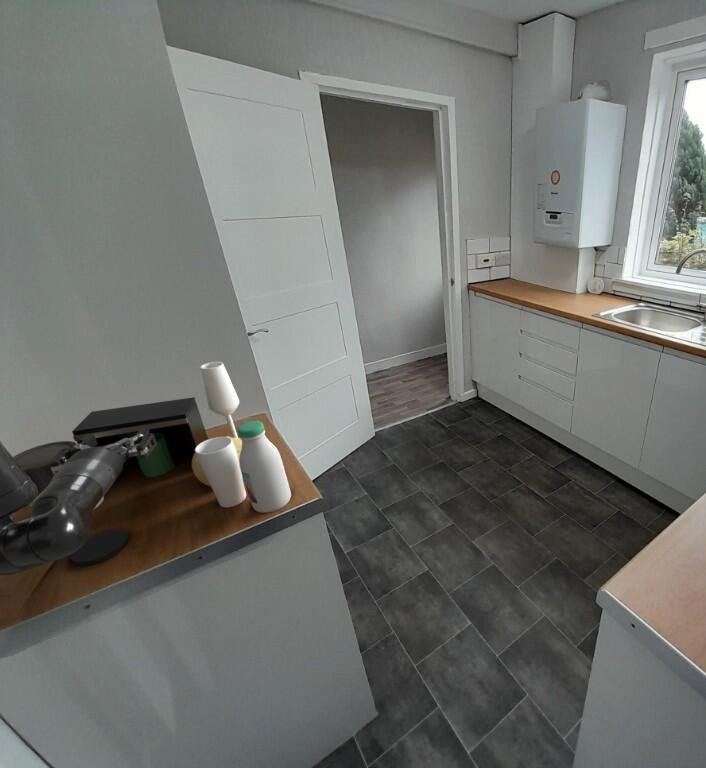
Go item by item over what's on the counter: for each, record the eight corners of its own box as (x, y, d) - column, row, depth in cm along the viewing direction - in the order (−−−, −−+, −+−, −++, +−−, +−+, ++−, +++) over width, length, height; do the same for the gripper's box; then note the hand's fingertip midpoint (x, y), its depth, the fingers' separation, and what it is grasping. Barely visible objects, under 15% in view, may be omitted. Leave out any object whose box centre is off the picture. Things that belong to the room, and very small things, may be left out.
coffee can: (44, 533, 82) (9, 477, 76) (33, 512, 87) (-1, 457, 81) (111, 504, 90) (83, 451, 84) (97, 486, 95) (70, 435, 89)
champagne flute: (256, 443, 114) (233, 363, 103) (231, 455, 108) (203, 372, 98) (243, 436, 117) (219, 358, 106) (218, 447, 111) (190, 366, 101)
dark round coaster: (64, 571, 74) (61, 567, 73) (83, 541, 80) (81, 537, 80) (120, 557, 77) (118, 553, 77) (134, 529, 84) (133, 525, 83)
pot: (140, 480, 98) (126, 448, 94) (148, 466, 103) (135, 436, 99) (172, 474, 100) (160, 443, 97) (178, 460, 105) (167, 430, 102)
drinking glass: (208, 506, 90) (186, 449, 84) (237, 487, 96) (218, 433, 90) (229, 514, 88) (208, 457, 82) (257, 495, 94) (240, 440, 87)
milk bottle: (296, 488, 96) (276, 415, 87) (285, 511, 89) (263, 434, 80) (260, 492, 95) (237, 417, 86) (247, 515, 88) (220, 437, 79)
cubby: (99, 492, 94) (70, 432, 87) (116, 468, 102) (91, 411, 96) (204, 471, 102) (184, 415, 95) (211, 450, 110) (194, 397, 104)
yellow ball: (216, 500, 92) (202, 461, 88) (189, 482, 98) (174, 444, 93) (266, 473, 101) (255, 436, 97) (238, 458, 107) (227, 423, 102)
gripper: (129, 450, 74) (156, 412, 87) (21, 470, 68) (67, 426, 82) (144, 484, 77) (167, 442, 90) (41, 505, 71) (82, 457, 85)
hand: (119, 435), depth 86 cm, fingers open, 8 cm apart
